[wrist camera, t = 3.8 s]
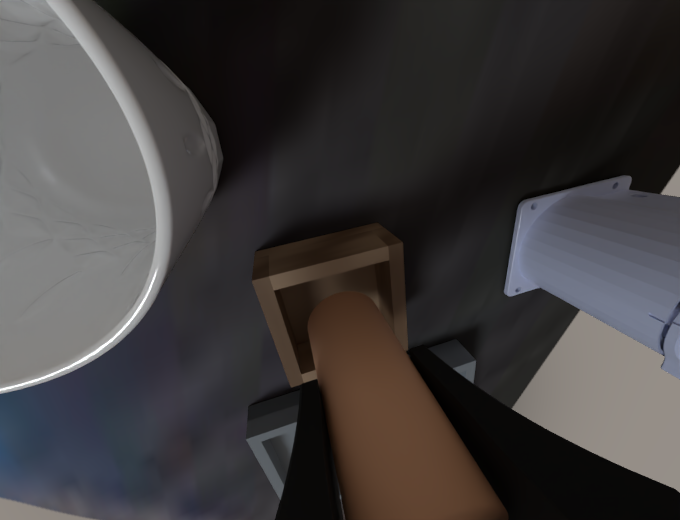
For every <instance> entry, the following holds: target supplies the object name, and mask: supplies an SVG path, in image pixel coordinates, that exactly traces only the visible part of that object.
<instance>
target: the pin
mask: <svg viewBox="0 0 680 520" xmlns="http://www.w3.org/2000/svg"><path fill="white" fill-rule="evenodd" d="M307 326H308V334H309V339H310V344H311V349H312V354H313V359H314V364H315V369H316V374H317V379H318V384H319V388H320V393H321V398H322V403H323V408H324V413H325V419H326V424H327V429H328V434H329V439H330V444H331V449H332V454H333V459H334V464H335V469H336V474H337V479H338V484H339V489H340V494H341V499H342V504H343V509H344V514H345V519H346V520H508V518H509V516H508V512H507V510H506V509H505V507H504V506H503V504H502V502H501V501H500V499H499V498H498V496H497V495H496V493H495V491H494V490H493V488H492V487H491V485H490V484H489V482H488V480H487V479H486V477H485V476H484V474H483V473H482V471H481V469H480V468H479V466H478V465H477V463H476V461H475V460H474V458H473V457H472V455H471V454H470V452H469V450H468V449H467V447H466V446H465V444H464V443H463V441H462V439H461V438H460V436H459V435H458V433H457V432H456V430H455V428H454V427H453V425H452V424H451V422H450V421H449V419H448V417H447V416H446V414H445V413H444V411H443V410H442V408H441V406H440V405H439V403H438V402H437V400H436V399H435V397H434V395H433V394H432V392H431V391H430V389H429V388H428V386H427V384H426V383H425V381H424V380H423V378H422V376H421V375H420V373H419V372H418V370H417V369H416V367H415V365H414V364H413V362H412V361H411V359H410V358H409V356H408V354H407V353H406V351H405V350H404V348H403V347H402V345H401V343H400V342H399V340H398V339H397V337H396V336H395V334H394V332H393V331H392V329H391V328H390V326H389V325H388V323H387V321H386V320H385V318H384V317H383V315H382V314H381V312H380V310H379V309H378V307H377V306H376V304H375V303H374V301H373V300H372V299H371V298H370V297H368V296H367V295H365V294H363V293H360V292H354V291H345V292H339V293H336V294H333V295H331V296H329V297H327V298H325V299H324V300H323V301H321V302H320V303H319V304H318V305H317V306H316V307H315V308H314V310H313V311H312V313H311V315H310V317H309V320H308V325H307Z"/></svg>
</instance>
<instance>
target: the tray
mask: <svg viewBox="0 0 680 520" xmlns="http://www.w3.org/2000/svg"><path fill="white" fill-rule="evenodd" d="M428 349H429V350H430V351H432V352H433V353H434V354H435V355H437V356H438V357H439V358H440V359H442V360H443V361H444V362H445V363H447V364H448V365H449V366H450V367H452V368H453V369H454V370H456V371H457V372H458V373H460V374H461V375H462V376H464V377H465V378H466V379H468V380H469V381H471V382H472V383H474V374H475V366H476V360H475V359H474V357H473V356H472V355H471V354H470V353H469V352H468V351H467V350H466V349H465V348H464V347H463V346H462V345H461V343H460V342H459V341H458V340H457V339H454V340H451V341H448V342H445V343H442V344H439V345H436V346H433V347H430V348H428ZM408 356H409V358H410V354H408ZM318 385H319V384H318ZM299 397H300V390H298V391H294V392H291V393H288V394H285V395H282V396H279V397H276V398H273V399H270V400H267V401H264V402H261V403H258V404H254V405H251V406H248V420H247V434H246V440H247V442H248V444H249V445H250V447H251V449H252V451H253V452H254V454H255V456H256V458H257V459H258V461H259V463H260V465H261V467H262V468H263V470H264V472H265V474H266V475H267V477H268V479H269V481H270V482H271V484H272V486H273V488H274V489H275V491H276V493H277V495H278V497H279V498H280V500H281V496H282V492H283V488H284V484H285V480H286V476H287V472H288V467H289V462H290V458H291V453H292V448H293V443H294V437H295V431H296V425H297V417H298V409H299ZM338 486H339V484H338ZM339 494H340V489H339ZM340 499H341V494H340Z"/></svg>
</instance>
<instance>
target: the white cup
mask: <svg viewBox="0 0 680 520" xmlns="http://www.w3.org/2000/svg"><path fill="white" fill-rule="evenodd" d="M222 163H223V154H222V150H221V146H220V142H219V138H218V134H217V130H216V126H215V123H214V122H213V120H212V119H211V117H210V116H209V115H208V113H207V112H206V110H205V109H204V108H203V106H202V105H201V104H200V102H199V101H198V99H197V98H196V97H195V95H194V94H193V92H192V91H191V90H190V89H189V88H188V87H187V86H186V85H184V84H183V83H182V81H181V80H180V79H179V78H178V77H177V76H176V75H175V74H174V73H173V72H172V71H171V70H170V69H169V68H168V67H167V66H166V65H165V64H164V63H163V62H162V61H161V60H160V59H158V58H157V57H156V56H155V55H154V54H153V53H152V52H151V51H150V50H149V49H148V48H147V47H146V46H145V45H144V44H143V43H142V42H141V41H140V40H139V39H138V38H136V37H135V36H134V35H133V34H132V33H131V32H130V31H129V30H128V29H126V28H125V27H124V26H123V25H122V24H121V23H120V22H118V21H117V20H116V19H115V18H114V17H113V16H111V15H110V14H109V13H108V12H107V11H106V10H105V9H103V8H102V7H101V6H100V5H99V4H98V3H97V2H95V1H94V0H0V394H1V393H6V392H11V391H15V390H19V389H23V388H27V387H30V386H34V385H37V384H40V383H43V382H46V381H49V380H52V379H55V378H57V377H60V376H62V375H65V374H67V373H69V372H72V371H74V370H76V369H78V368H80V367H82V366H84V365H86V364H88V363H89V362H91V361H93V360H95V359H96V358H98V357H100V356H101V355H103V354H104V353H106V352H107V351H108V350H110V349H111V348H112V347H114V346H115V345H116V344H118V343H119V342H120V341H121V340H122V339H123V338H125V337H126V336H127V335H128V334H129V333H130V332H131V331H132V330H133V329H134V328H135V327H136V326H137V324H138V323H139V322H140V321H141V320H142V318H143V317H144V316H145V314H146V313H147V312H148V310H149V309H150V307H151V306H152V304H153V302H154V301H155V299H156V297H157V295H158V294H159V292H160V290H161V289H162V287H163V285H164V283H165V282H166V280H167V278H168V276H169V275H170V273H171V271H172V270H173V268H174V266H175V265H176V263H177V261H178V259H179V258H180V256H181V254H182V253H183V251H184V249H185V248H186V246H187V244H188V243H189V241H190V239H191V238H192V236H193V234H194V233H195V231H196V229H197V228H198V226H199V224H200V222H201V221H202V219H203V217H204V214H205V212H206V210H207V209H208V207H209V205H210V202H211V200H212V198H213V195H214V192H215V191H216V189H217V186H218V182H219V177H220V172H221V168H222Z"/></svg>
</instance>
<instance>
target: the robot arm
mask: <svg viewBox="0 0 680 520" xmlns="http://www.w3.org/2000/svg"><path fill="white" fill-rule="evenodd" d="M631 181H632V178H631V177H630V176H626V175H623V176H619V177H615V178H611V179H607V180H602V181H598V182H594V183H590V184H586V185H582V186H578V187H574V188H570V189H566V190H562V191H558V192H554V193H550V194H546V195H542V196H538V197H534V198H530V199H526V200H523V201H522V202H521V203H520V204H519V205H518V209H517V215H516V221H515V227H514V233H513V239H512V245H511V252H510V258H509V264H508V270H507V276H506V282H505V288H504V293H505V294H506V295H508V296H514V295H517V294H520V293H523V292H526V291H530V290H533V289H536V288H539V287H541V288H542V289H544V290H546V291H548V292H550V293H551V294H553V295H555V296H557V297H559V298H560V299H562V300H564V301H566V302H568V303H569V304H571V305H573V306H575V307H577V308H578V309H580V310H582V311H584V312H586V313H588V314H589V315H591V316H593V317H595V318H597V319H598V320H600V321H602V322H604V323H606V324H607V325H609V326H611V327H613V328H615V329H616V330H618V331H620V332H622V333H624V334H625V335H627V336H629V337H631V338H633V339H634V340H637V341H638V342H640V343H642V344H643V345H645V346H647V347H649V348H651V349H652V350H654V351H656V352H658V353H660V354H662V355H663V356H665V359H664V362H663V364H662V366H661V369H663V370H665V371H666V372H668V373H670V374H671V375H673V376H675V377H677V378H679V379H680V197H675V196H667V195H661V194H654V193H648V192H641V191H634V190H629V187H630V184H631ZM410 359H411V361H412V362H413V364H414V365H415V367H416V369H417V370H418V372H419V373H420V375H421V376H422V378H423V380H424V381H425V383H426V384H427V386H428V388H429V389H430V391H431V392H432V394H433V395H434V397H435V399H436V400H437V402H438V403H439V405H440V406H441V408H442V410H443V411H444V413H445V414H446V416H447V417H448V419H449V421H450V422H451V424H452V425H453V427H454V428H455V430H456V432H457V433H458V435H459V436H460V438H461V439H462V441H463V443H464V444H465V446H466V447H467V449H468V450H469V452H470V454H471V455H472V457H473V458H474V460H475V461H476V463H477V465H478V466H479V468H480V469H481V471H482V473H483V474H484V476H485V477H486V479H487V480H488V482H489V484H490V485H491V487H492V488H493V490H494V491H495V493H496V495H497V496H498V498H499V499H500V501H501V502H502V504H503V506H504V507H505V509H506V510H507V512H508V516H509V518H508V520H680V493H679V492H678V491H677V490H676V489H674V488H671V487H669V486H666V485H664V484H662V483H659V482H657V481H655V480H652V479H650V478H648V477H645V476H643V475H640V474H638V473H636V472H633V471H631V470H628V469H626V468H624V467H622V466H620V465H617V464H615V463H613V462H611V461H609V460H607V459H604V458H602V457H600V456H598V455H596V454H594V453H592V452H590V451H588V450H586V449H584V448H582V447H580V446H578V445H576V444H574V443H572V442H570V441H568V440H566V439H564V438H562V437H560V436H558V435H556V434H554V433H552V432H550V431H549V430H547V429H545V428H543V427H541V426H539V425H538V424H536V423H534V422H532V421H531V420H529V419H527V418H526V417H524V416H522V415H521V414H519V413H517V412H516V411H514V410H512V409H511V408H509V407H507V406H506V405H504V404H503V403H501V402H500V401H498V400H497V399H495V398H494V397H492V396H491V395H489V394H488V393H486V392H485V391H483V390H482V389H480V388H479V387H477V386H476V385H475V384H473V383H472V382H471V381H469V380H468V379H466V378H465V377H464V376H462V375H461V374H460V373H458V372H457V371H456V370H454V369H453V368H452V367H450V366H449V365H448V364H447V363H445V362H444V361H443V360H442V359H440V358H439V357H438V356H437V355H435V354H434V353H433V352H432V351H430V350H429V349H428V348H427V347H426V346H424V345H421V346H418V347H415V348H412V349H410ZM275 520H343V515H342V508H341V501H340V494H339V486H338V479H337V474H336V469H335V464H334V459H333V454H332V449H331V444H330V439H329V434H328V429H327V424H326V419H325V413H324V408H323V403H322V398H321V393H320V388H319V385H318V382H317V379H315V380H312V381H308V382H305V383H302V384H301V385H300V397H299V409H298V417H297V425H296V431H295V437H294V443H293V448H292V453H291V458H290V462H289V467H288V472H287V476H286V480H285V484H284V488H283V492H282V496H281V500H280V504H279V507H278V511H277V514H276V518H275Z"/></svg>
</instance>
